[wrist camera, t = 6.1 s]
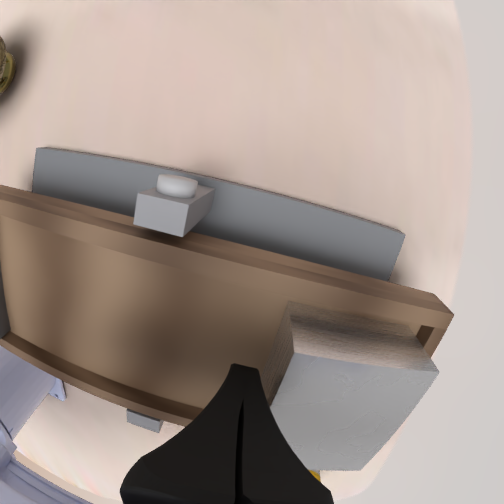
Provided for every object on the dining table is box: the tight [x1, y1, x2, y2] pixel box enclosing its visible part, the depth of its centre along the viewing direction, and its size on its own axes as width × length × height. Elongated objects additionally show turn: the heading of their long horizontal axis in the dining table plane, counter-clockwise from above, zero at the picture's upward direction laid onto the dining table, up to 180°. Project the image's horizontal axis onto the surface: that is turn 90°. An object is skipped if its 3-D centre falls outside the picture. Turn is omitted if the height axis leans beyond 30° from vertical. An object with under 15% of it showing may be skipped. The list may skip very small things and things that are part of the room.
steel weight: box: [260, 300, 439, 471], centre depth 12 cm, size 6×7×4 cm
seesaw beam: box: [0, 185, 454, 427], centre depth 12 cm, size 26×10×4 cm, turn 76°
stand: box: [32, 147, 405, 433], centre depth 15 cm, size 23×14×6 cm, turn 76°
